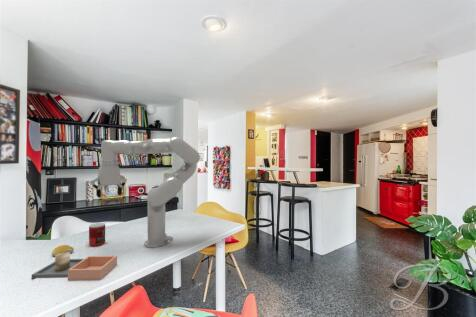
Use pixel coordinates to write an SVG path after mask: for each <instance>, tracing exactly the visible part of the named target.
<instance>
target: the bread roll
mask: <svg viewBox="0 0 476 317" xmlns="http://www.w3.org/2000/svg"><path fill="white" fill-rule="evenodd" d="M63 252H69V253H70V255H71V254H72V253H73V252H74V248H73V247H72V246H71V245H67V244H62V245H59V246H57V247H55V248H54V249H53V250H52V252H51V255H52V256H53V257H55V255H57V254H59V253H63Z"/></svg>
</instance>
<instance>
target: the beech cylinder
mask: <svg viewBox="0 0 476 317" xmlns="http://www.w3.org/2000/svg"><path fill="white" fill-rule="evenodd" d="M70 259H71V254H70V253H69V252H63V253H59V254H57V255H55V256H54V262H55V271H64V270H66V269H68V268H70Z"/></svg>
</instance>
